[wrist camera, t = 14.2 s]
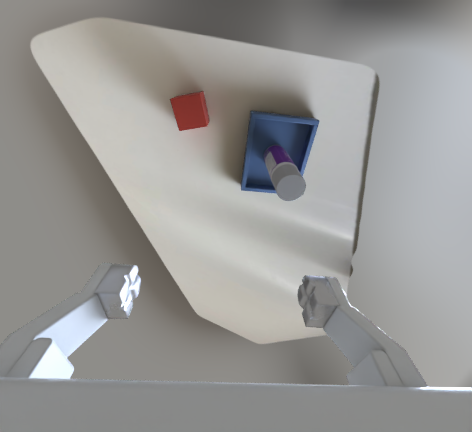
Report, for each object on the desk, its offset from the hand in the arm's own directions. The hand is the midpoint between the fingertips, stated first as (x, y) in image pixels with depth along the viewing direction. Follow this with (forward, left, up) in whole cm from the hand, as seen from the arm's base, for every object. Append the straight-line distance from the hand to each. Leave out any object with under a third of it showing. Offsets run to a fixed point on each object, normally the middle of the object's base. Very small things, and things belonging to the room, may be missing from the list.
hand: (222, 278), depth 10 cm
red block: (-2, -7, -37) cm, 38 cm away
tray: (+5, +10, -37) cm, 39 cm away
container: (+5, +10, -37) cm, 38 cm away
